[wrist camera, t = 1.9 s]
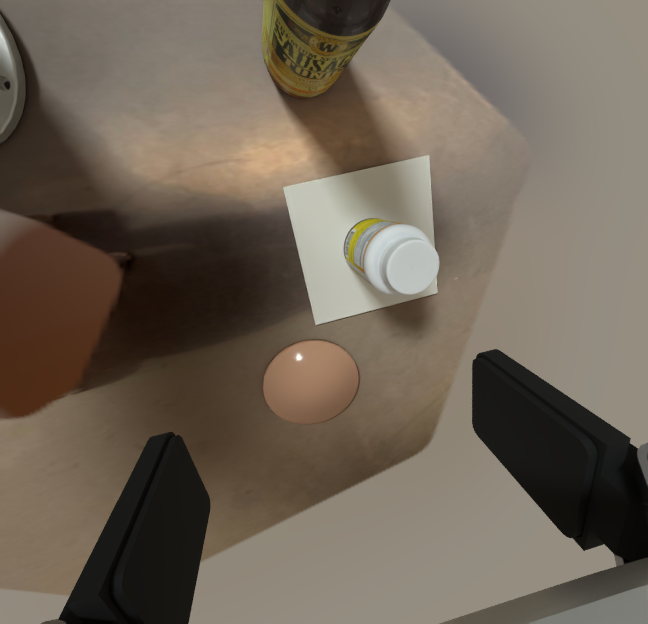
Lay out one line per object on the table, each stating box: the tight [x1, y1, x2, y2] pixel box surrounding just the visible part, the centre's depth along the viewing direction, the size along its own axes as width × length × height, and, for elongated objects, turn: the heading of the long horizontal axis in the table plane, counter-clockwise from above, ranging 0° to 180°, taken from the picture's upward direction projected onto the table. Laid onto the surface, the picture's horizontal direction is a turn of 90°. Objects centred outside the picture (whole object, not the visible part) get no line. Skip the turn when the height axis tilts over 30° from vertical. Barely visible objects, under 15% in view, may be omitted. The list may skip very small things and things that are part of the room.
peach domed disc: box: [263, 339, 359, 424], centre depth 35 cm, size 11×11×1 cm
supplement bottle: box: [343, 218, 439, 296], centre depth 26 cm, size 6×6×10 cm
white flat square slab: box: [283, 155, 437, 325], centre depth 31 cm, size 14×14×1 cm
